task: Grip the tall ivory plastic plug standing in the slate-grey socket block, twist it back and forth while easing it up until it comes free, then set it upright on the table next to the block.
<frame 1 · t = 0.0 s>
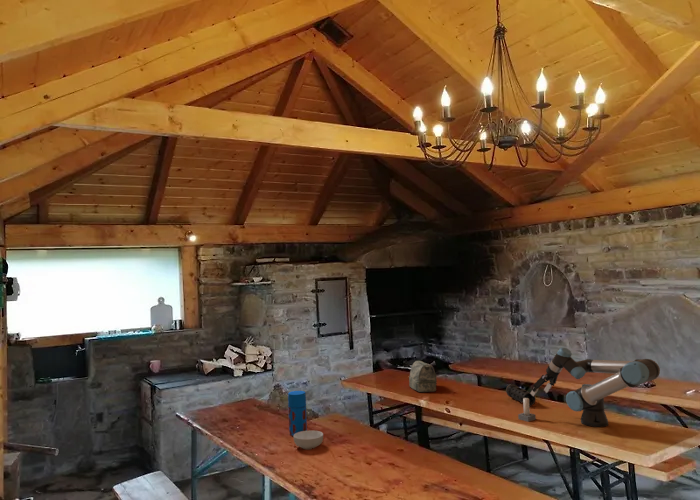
hand: (538, 393, 330), 15 cm above the table, tool tilted 35°, fingers open, 13 cm apart
cereal bowl: (308, 447, 290), on the table
thermos: (298, 434, 315), on the table
socket block: (527, 419, 326), on the table
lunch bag: (423, 389, 416), on the table
plug: (526, 408, 326), in the socket block
muzzle brake: (520, 402, 366), on the table
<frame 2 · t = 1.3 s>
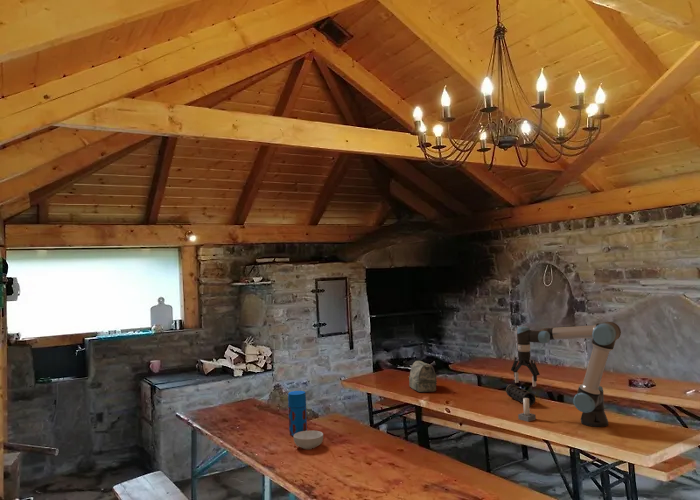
hand: (525, 384, 327), 22 cm above the table, tool pointing down, fingers open, 13 cm apart
nothing on the table moved.
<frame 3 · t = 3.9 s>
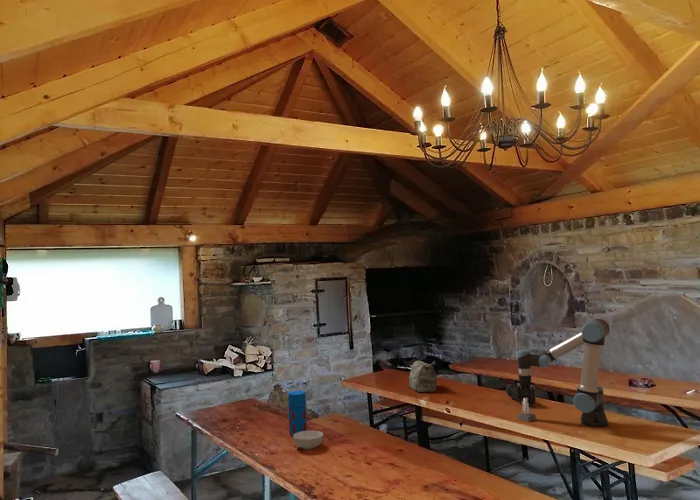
hand: (526, 411, 326), 5 cm above the table, tool pointing down, fingers closed on plug, 3 cm apart
plug: (526, 408, 326), in the socket block, touching gripper
everything else where it was.
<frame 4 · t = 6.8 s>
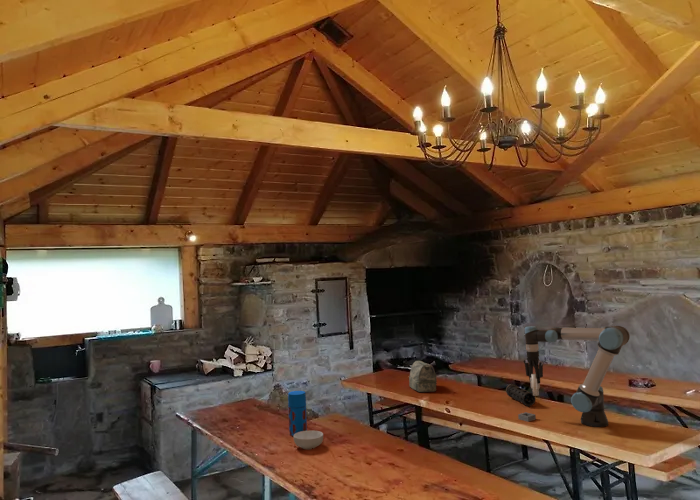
hand: (535, 387, 325), 20 cm above the table, tool pointing down, fingers closed on plug, 3 cm apart
plug: (535, 384, 325), point 22 cm above the table, touching gripper
everything else where it was.
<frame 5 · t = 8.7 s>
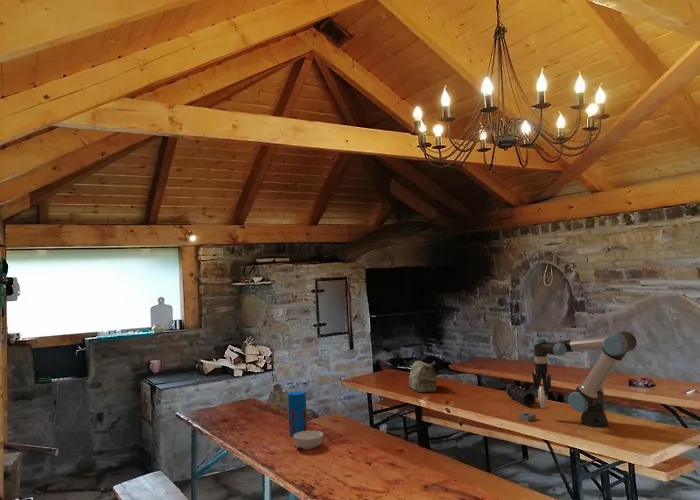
hand: (542, 399, 324), 12 cm above the table, tool pointing down, fingers closed on plug, 3 cm apart
plug: (542, 396, 324), point 14 cm above the table, touching gripper
everything else where it was.
when the fingers open (6 cm above the table, at t = 10.1 s): plug drops 2 cm, on the table.
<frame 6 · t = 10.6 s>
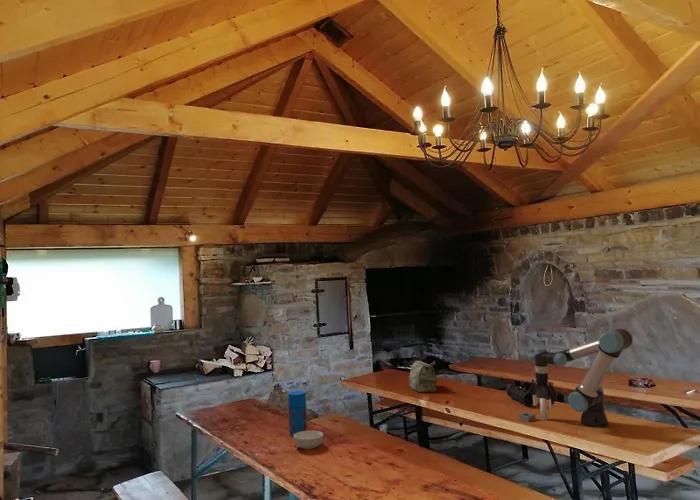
hand: (543, 407, 324), 8 cm above the table, tool pointing down, fingers open, 11 cm apart
plug: (543, 409, 324), on the table
everything else where it was.
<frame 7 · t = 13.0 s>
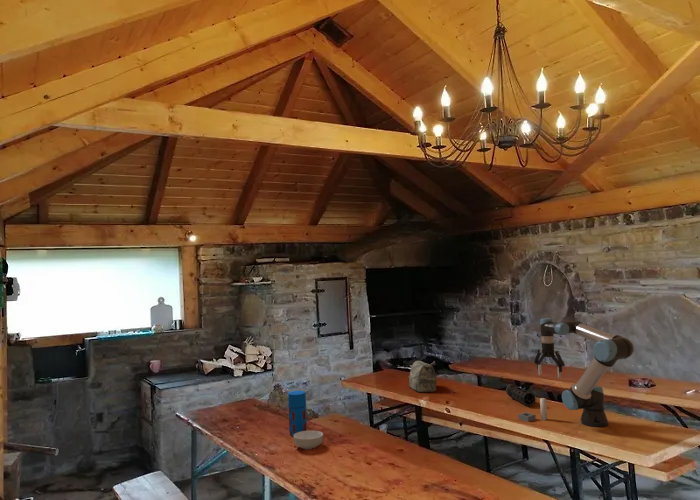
hand: (549, 376, 328), 26 cm above the table, tool pointing down, fingers open, 13 cm apart
nothing on the table moved.
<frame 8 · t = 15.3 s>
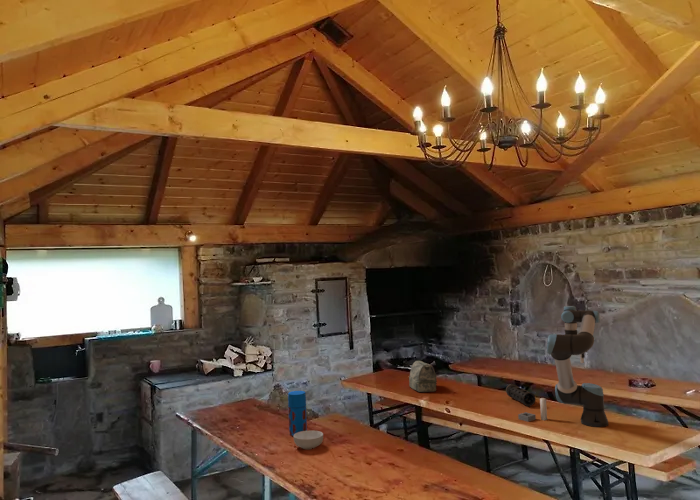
hand: (572, 361, 340), 33 cm above the table, tool pointing down, fingers open, 13 cm apart
nothing on the table moved.
at the end: plug inside the target area (0.0 cm from its centre), on the table; plug tilted 0°; the gripper is holding nothing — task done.
